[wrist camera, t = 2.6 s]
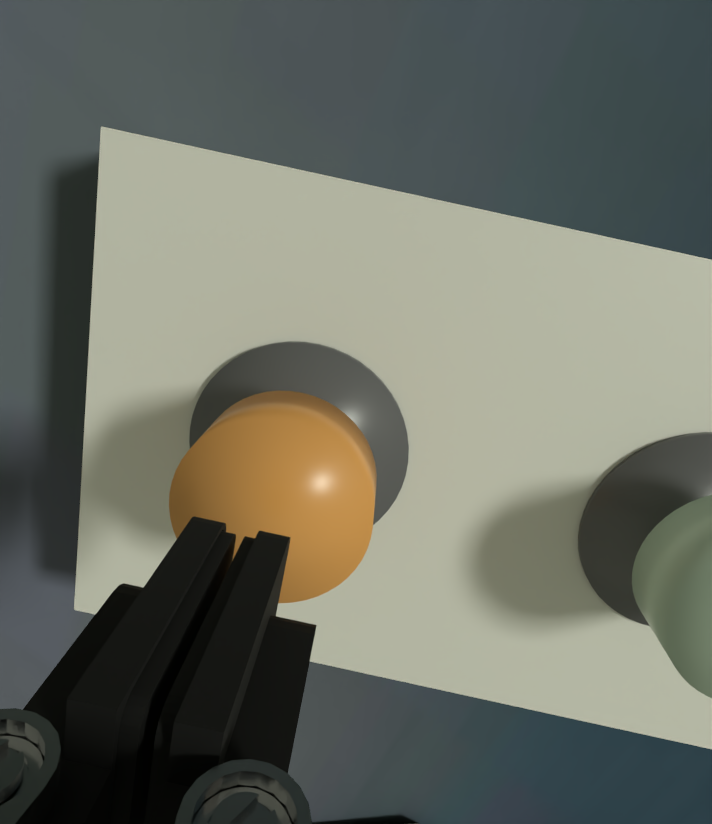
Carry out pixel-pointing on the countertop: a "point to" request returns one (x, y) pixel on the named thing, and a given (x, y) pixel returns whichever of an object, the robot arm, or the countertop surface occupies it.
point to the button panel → (412, 415)
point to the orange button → (284, 485)
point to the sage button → (680, 589)
